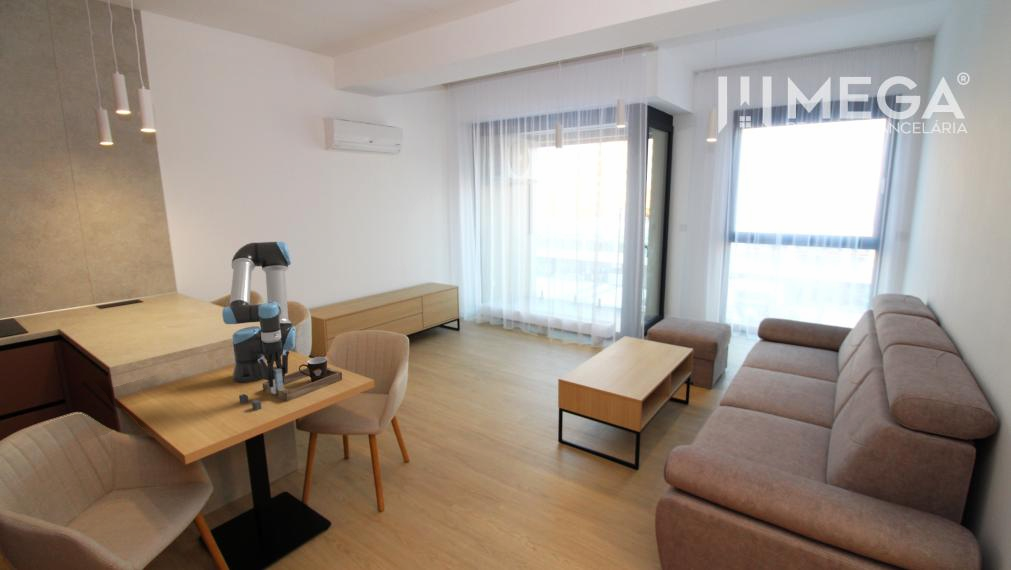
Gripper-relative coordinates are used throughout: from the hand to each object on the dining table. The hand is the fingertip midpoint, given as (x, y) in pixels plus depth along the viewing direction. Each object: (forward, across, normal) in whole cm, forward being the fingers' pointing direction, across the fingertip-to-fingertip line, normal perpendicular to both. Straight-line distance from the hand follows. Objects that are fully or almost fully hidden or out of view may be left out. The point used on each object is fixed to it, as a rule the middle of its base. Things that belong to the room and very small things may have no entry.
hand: (277, 391), depth 205 cm
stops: (+2, -12, 0) cm, 12 cm away
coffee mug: (+2, +19, 0) cm, 19 cm away
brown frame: (+1, +13, 0) cm, 13 cm away
